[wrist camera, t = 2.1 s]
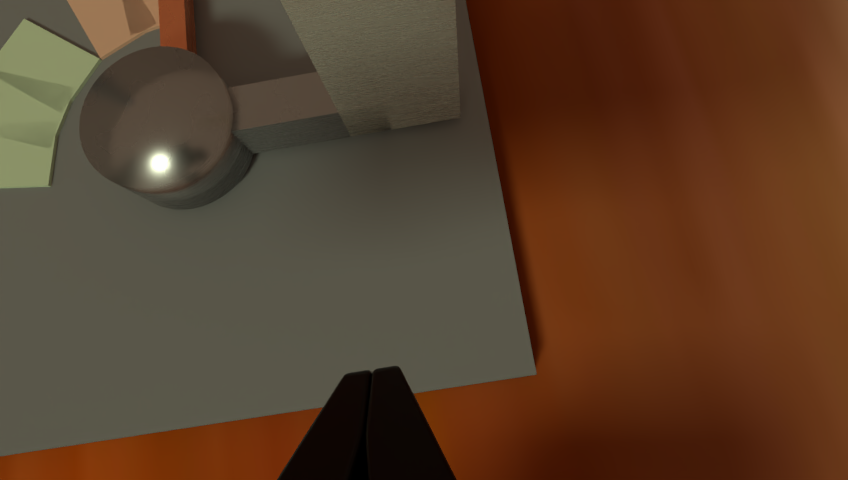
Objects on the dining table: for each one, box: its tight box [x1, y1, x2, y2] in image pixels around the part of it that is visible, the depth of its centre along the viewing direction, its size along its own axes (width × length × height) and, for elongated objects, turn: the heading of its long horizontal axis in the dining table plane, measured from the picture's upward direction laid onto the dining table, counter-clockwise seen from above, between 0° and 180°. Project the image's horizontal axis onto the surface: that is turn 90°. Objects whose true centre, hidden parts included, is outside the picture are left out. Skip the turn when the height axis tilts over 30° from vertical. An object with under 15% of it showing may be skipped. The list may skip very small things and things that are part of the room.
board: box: [0, 0, 537, 456], centre depth 22 cm, size 22×22×1 cm
